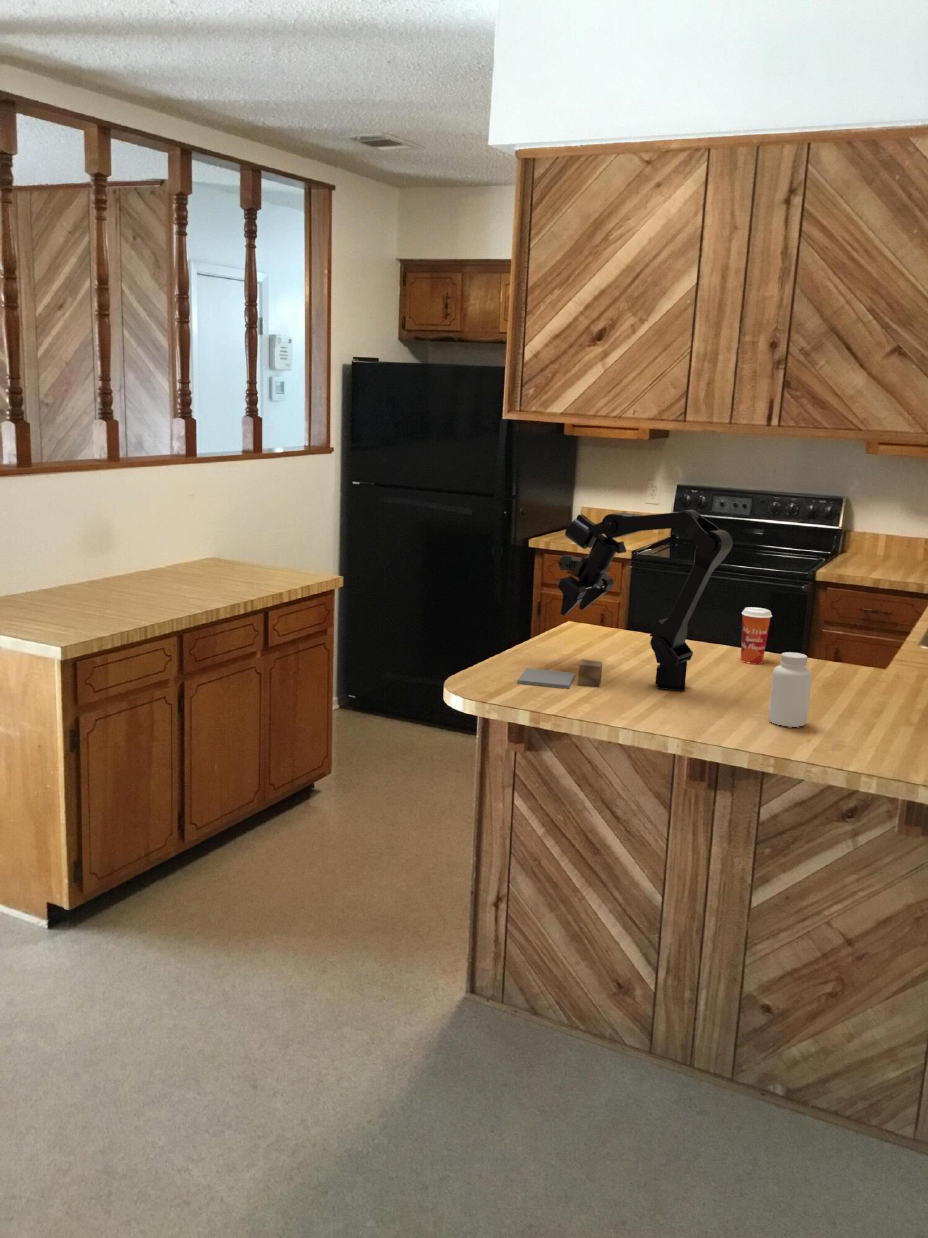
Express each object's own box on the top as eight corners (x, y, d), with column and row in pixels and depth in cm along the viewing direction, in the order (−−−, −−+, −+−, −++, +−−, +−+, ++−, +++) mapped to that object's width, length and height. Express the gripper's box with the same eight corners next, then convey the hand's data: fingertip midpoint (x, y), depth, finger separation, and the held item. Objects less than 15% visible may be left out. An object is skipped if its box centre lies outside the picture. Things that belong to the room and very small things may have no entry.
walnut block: (600, 682, 256) (602, 661, 255) (598, 687, 251) (600, 666, 250) (579, 679, 257) (581, 659, 256) (577, 685, 252) (579, 664, 251)
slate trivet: (574, 676, 260) (575, 673, 259) (568, 688, 248) (569, 685, 248) (525, 671, 262) (526, 668, 262) (517, 683, 251) (517, 680, 250)
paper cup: (735, 663, 281) (741, 610, 278) (737, 656, 288) (742, 605, 285) (766, 666, 279) (772, 613, 276) (767, 660, 286) (773, 608, 283)
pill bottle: (776, 715, 235) (784, 648, 232) (812, 723, 231) (820, 655, 227) (761, 722, 229) (769, 654, 226) (797, 731, 224) (805, 661, 221)
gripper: (591, 538, 272) (565, 589, 278) (554, 545, 257) (527, 599, 263) (626, 561, 267) (598, 613, 274) (590, 570, 252) (562, 624, 259)
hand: (571, 612), depth 268 cm, fingers open, 9 cm apart
